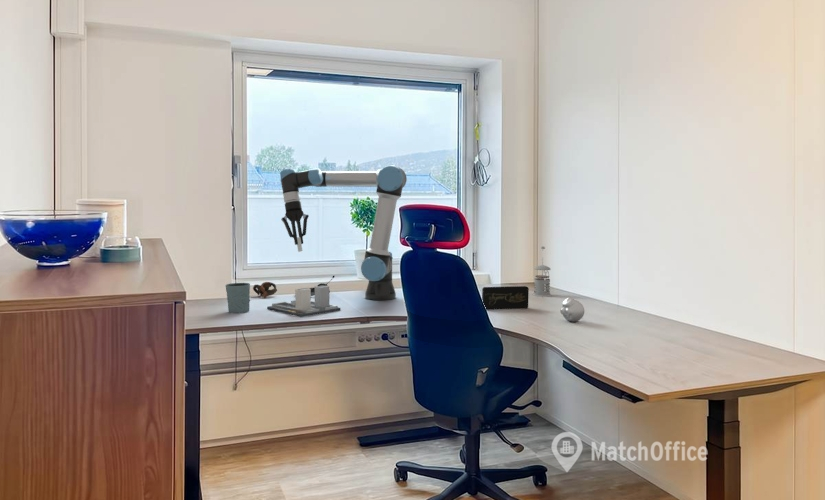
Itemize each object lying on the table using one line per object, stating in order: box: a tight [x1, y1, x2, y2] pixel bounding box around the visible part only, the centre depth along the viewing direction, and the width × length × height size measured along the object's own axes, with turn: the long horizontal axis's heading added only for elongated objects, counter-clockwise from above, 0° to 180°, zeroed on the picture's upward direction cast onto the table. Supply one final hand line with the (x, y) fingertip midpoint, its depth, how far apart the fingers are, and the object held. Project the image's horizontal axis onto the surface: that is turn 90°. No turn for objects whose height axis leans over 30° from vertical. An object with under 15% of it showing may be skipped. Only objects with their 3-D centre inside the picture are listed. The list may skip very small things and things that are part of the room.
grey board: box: [266, 299, 341, 318], centre depth 262 cm, size 25×21×2 cm
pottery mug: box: [252, 281, 278, 299], centre depth 298 cm, size 12×10×8 cm
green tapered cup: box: [225, 282, 251, 314], centre depth 257 cm, size 10×10×12 cm
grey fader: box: [314, 285, 330, 308], centre depth 262 cm, size 4×5×9 cm
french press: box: [532, 245, 552, 298], centre depth 305 cm, size 10×12×25 cm
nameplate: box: [481, 285, 530, 311], centre depth 266 cm, size 21×2×10 cm, turn 100°
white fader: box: [294, 287, 312, 311], centre depth 254 cm, size 4×5×9 cm
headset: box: [308, 275, 335, 297], centre depth 302 cm, size 14×10×20 cm
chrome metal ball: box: [560, 296, 585, 323], centre depth 238 cm, size 9×9×10 cm
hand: (300, 251), depth 280 cm, fingers closed
